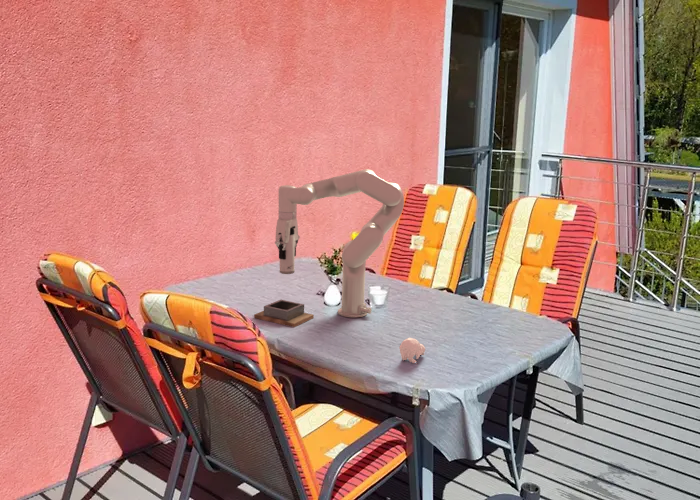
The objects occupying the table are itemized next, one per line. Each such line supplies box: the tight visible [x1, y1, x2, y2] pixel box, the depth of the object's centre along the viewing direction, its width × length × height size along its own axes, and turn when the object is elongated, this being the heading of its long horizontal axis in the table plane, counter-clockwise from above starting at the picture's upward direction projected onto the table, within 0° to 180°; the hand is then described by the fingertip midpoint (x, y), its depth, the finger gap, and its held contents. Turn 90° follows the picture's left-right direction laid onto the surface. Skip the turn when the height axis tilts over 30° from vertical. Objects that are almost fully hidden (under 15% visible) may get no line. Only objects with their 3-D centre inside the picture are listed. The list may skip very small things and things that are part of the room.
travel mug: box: [279, 226, 296, 275], centre depth 283 cm, size 6×7×20 cm
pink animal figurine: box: [399, 337, 426, 364], centre depth 237 cm, size 6×8×12 cm
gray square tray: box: [263, 299, 305, 321], centre depth 277 cm, size 12×12×4 cm
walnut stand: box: [253, 310, 315, 328], centre depth 278 cm, size 20×14×2 cm
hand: (287, 257), depth 284 cm, fingers closed on travel mug, 6 cm apart
